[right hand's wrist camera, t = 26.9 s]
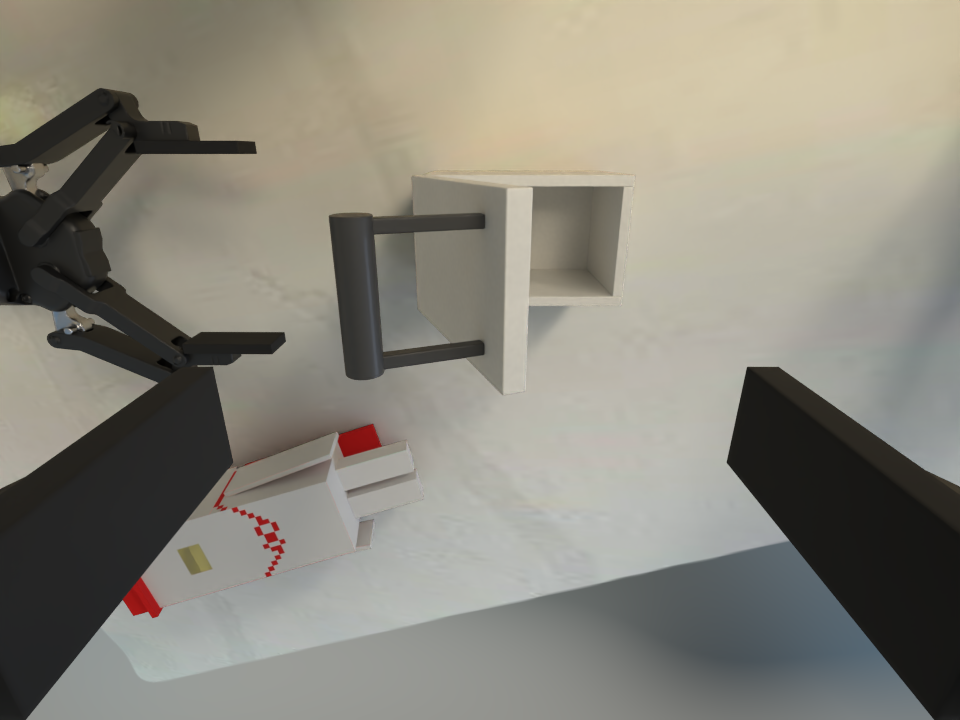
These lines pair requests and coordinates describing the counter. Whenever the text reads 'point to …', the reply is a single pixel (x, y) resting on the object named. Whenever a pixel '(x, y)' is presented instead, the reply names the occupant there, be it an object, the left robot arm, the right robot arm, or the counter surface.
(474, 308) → the lid
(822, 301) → the counter surface
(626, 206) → the white open box
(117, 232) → the counter surface
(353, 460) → the toy
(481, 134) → the counter surface
